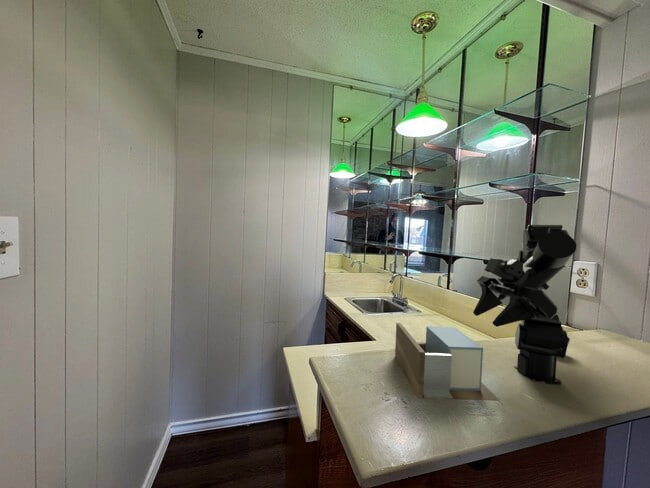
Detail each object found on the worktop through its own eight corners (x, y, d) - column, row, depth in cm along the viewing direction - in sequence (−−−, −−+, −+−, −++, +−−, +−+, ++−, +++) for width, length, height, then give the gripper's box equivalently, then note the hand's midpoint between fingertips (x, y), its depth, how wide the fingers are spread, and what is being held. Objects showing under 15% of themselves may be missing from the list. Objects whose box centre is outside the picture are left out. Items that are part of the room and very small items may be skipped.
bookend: (447, 392, 53) (449, 353, 53) (452, 398, 51) (454, 358, 51) (420, 391, 53) (422, 352, 53) (424, 397, 51) (426, 357, 51)
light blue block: (452, 362, 66) (454, 326, 66) (480, 390, 54) (483, 347, 54) (424, 361, 66) (426, 326, 66) (446, 389, 54) (449, 346, 54)
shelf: (456, 360, 68) (458, 324, 68) (500, 403, 51) (502, 354, 51) (394, 359, 68) (396, 322, 68) (417, 400, 51) (420, 352, 51)
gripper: (486, 244, 68) (441, 285, 69) (545, 248, 50) (484, 304, 50) (515, 276, 69) (470, 316, 69) (584, 291, 50) (523, 346, 51)
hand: (483, 319), depth 60 cm, fingers open, 7 cm apart
